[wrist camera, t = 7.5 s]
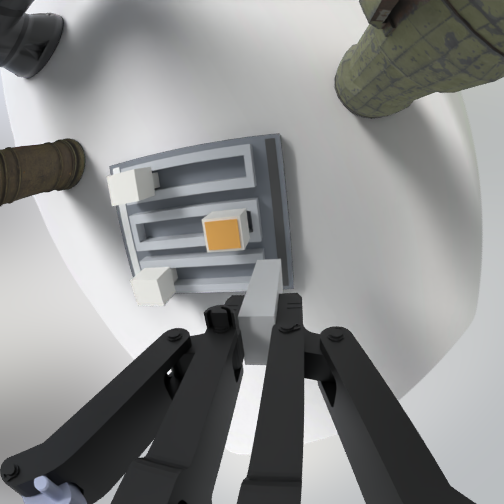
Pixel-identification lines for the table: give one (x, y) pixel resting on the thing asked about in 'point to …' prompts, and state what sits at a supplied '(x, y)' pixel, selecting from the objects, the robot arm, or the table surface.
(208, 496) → the robot arm
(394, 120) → the table surface
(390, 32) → the thermos
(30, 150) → the container
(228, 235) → the handle
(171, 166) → the panel
